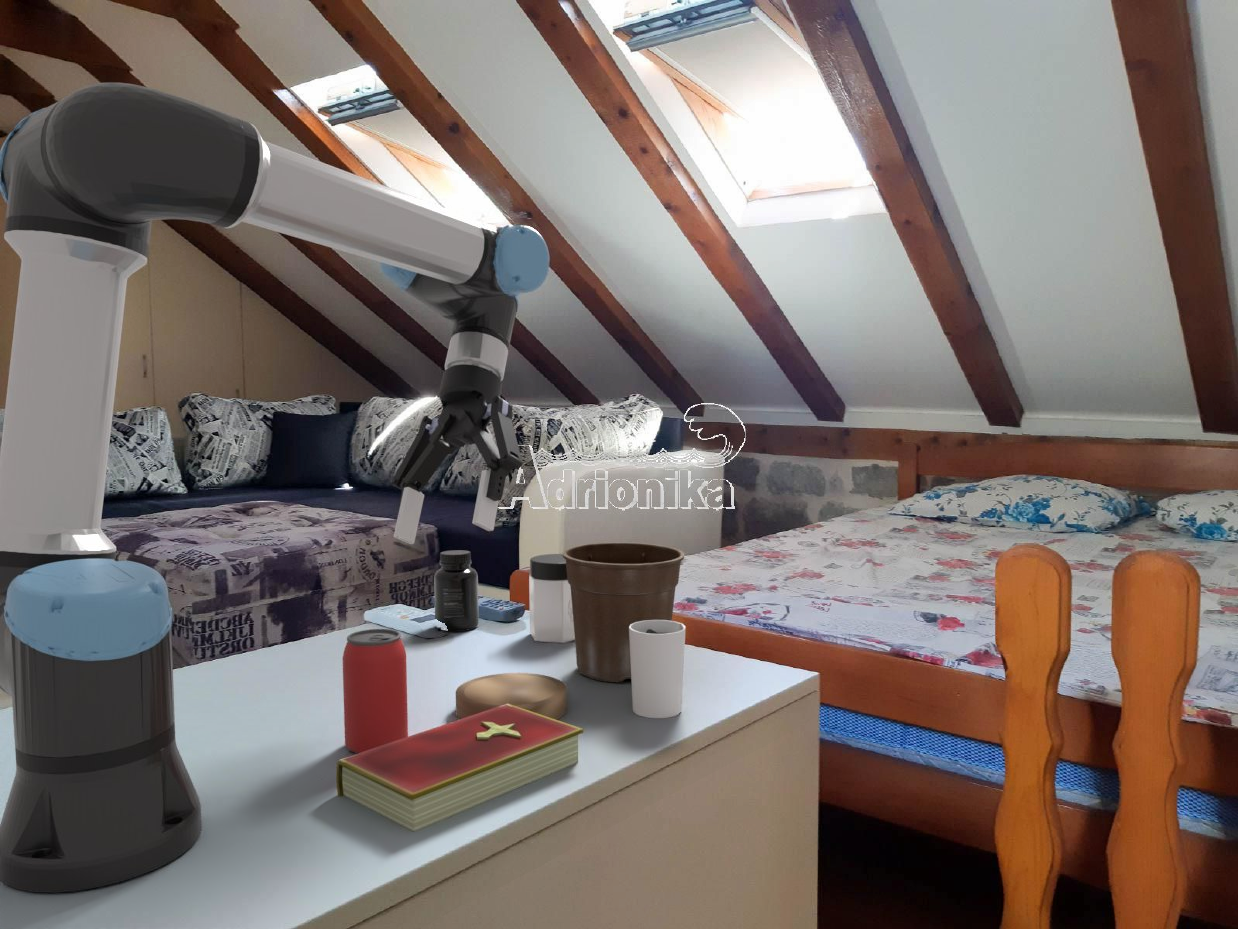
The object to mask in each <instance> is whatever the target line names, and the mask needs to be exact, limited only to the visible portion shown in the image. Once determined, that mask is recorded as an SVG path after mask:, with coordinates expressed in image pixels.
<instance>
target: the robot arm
mask: <svg viewBox="0 0 1238 929" xmlns="http://www.w3.org/2000/svg"><path fill="white" fill-rule="evenodd" d="M0 193H1V195H2V199H4V202H5V204H6V206H7V207H6V213H5V225H4V226H5V227H4V233H3V238H4V241H6V242H7V244H8V245H9V246H10V248H12V250H13V251H14V252H15V253H16V254H17V255H18V256H19V259H20V260H21V262H20V271H19V281H18V289H17V290H18V291H17V299H16V307H15V317H14V324H13V325H14V326H13V337H12V345H11V353H10V362H9V370H8V381H7V390H6V399H5V408H4V416H3V417H4V418H3V424H2V425H3V426H2V435H1V443H0V690H1V691H2V692H4V693H5V694H7V695H8V696H10V697H11V703H12V704H11V705H12V719H13V720H12V721H13V736H14V738H13V739H14V749H15V750H14V752H15V776H14V778H13V781H12V782H13V783H12V786H11V787H10V788H11V789H10V792H9V795H8V799H7V802H6V803H5V804H6V805H5V807H4V808H5V809H4V811H3V815H2V818H1V821H0V881H2V883H4V884H5V885H8V886H9V887H12V888H14V889H18V890H22V891H27V892H36V893H64V892H75V891H76V892H77V891H81V890H82V891H83V890H90V889H94V888H100V887H105V886H109V885H113V884H117V883H121V882H123V881H128V880H130V879H133V878H136V877H139V876H142V875H144V874H147V873H150V872H151V871H154V870H156V869H158V868H161V867H162V866H165V865H166V864H168V863H170V862H172V861H174V860H175V859H177V858H178V857H180V856H182V855H183V854H184V853H185V852H186V851H188V850H189V849H190V848H191V847H192V846H193V845H194V844H195V843H196V842H197V840H198V839H199V838H200V836H201V833H202V829H203V826H202V825H203V824H202V821H203V820H202V806H201V805H202V804H201V801H200V797H199V795H198V793H197V790H196V788H195V785H194V783H193V781H192V778H191V777H190V776H191V775H190V774H189V772H188V769H187V767H186V765H185V763H184V760H183V758H182V755H181V752H180V750H179V748H178V746H177V742H176V741H177V740H176V739H177V738H176V723H175V719H176V718H175V717H176V715H175V691H174V690H175V688H174V687H175V686H174V664H173V660H174V659H173V637H172V636H173V634H172V625H173V621H174V620H173V617H174V616H173V613H174V612H173V608H172V606H171V602H170V599H169V597H170V596H169V590H168V586H167V585H168V584H167V582H166V580H165V578H164V577H163V575H162V574H161V573H159V571H157V570H155V569H154V568H152V567H150V566H148V565H146V564H143V563H140V562H136V561H131V560H120V561H116V555H117V546H116V545H115V544H114V543H113V541H111V539H109V537H108V536H107V535H106V534H105V533H104V531H103V530H102V528H101V526H102V514H103V506H104V498H105V489H106V479H107V469H108V459H109V451H110V443H111V442H110V440H111V434H112V433H111V432H112V425H113V424H112V423H113V413H114V406H115V405H114V404H115V396H116V388H117V387H116V386H117V376H118V368H119V361H120V360H119V358H120V348H121V338H122V331H123V322H124V315H125V314H124V312H125V303H126V302H125V301H126V294H127V284H128V279H129V278H130V276H132V275H133V274H135V272H138V270H140V269H142V268H143V267H145V266H146V265H147V264H148V259H149V249H150V241H151V240H150V239H151V232H152V223H153V221H160V220H161V221H162V220H184V221H185V220H187V221H192V222H200V223H204V224H210V225H212V226H215V227H219V228H223V229H232V228H234V227H236V226H237V225H239V224H241V223H246V224H250V225H252V226H256V227H260V228H264V229H267V230H270V231H274V232H276V233H280V234H284V235H287V236H290V237H294V238H296V239H301V240H303V241H306V242H307V241H308V242H311V243H314V244H318V245H321V246H325V247H327V248H331V249H335V250H337V251H342V252H345V253H347V254H348V253H349V254H351V255H355V256H359V257H362V258H365V259H369V260H373V261H376V262H379V267H380V271H381V273H382V274H383V276H384V277H385V278H386V279H388V280H389V281H390V282H392V283H393V284H394V285H396V287H398V288H399V290H400V291H402V292H405V293H407V294H409V295H410V296H412V297H413V298H415V299H416V300H418V301H419V302H420V303H423V305H425V306H427V307H428V308H430V309H431V310H432V311H434V312H436V313H437V314H439V315H440V316H442V317H443V318H444V319H446V320H448V321H449V322H451V323H452V330H451V337H450V341H449V344H448V350H447V354H446V358H445V363H444V371H443V373H442V378H441V382H440V388H439V391H438V392H439V393H438V397H439V401H440V402H441V406H442V410H441V412H440V414H439V416H438V417H434V418H432V417H430V416H429V415H424V416H423V417H422V419H421V422H420V426H419V428H418V432H417V434H416V436H415V438H414V440H413V441H412V443H411V445H410V447H409V448H408V451H407V452H406V454H405V456H404V458H403V459H402V462H401V463H400V465H399V467H398V469H397V471H396V472H395V475H394V476H393V478H392V480H391V485H392V486H393V487H395V488H397V489H399V490H401V495H400V499H399V502H398V507H397V518H396V519H397V520H396V523H395V529H394V531H393V538H395V539H396V540H399V541H402V542H403V543H407V544H409V545H415V541H416V537H417V532H418V528H419V522H420V518H421V513H422V509H423V505H424V504H423V503H424V498H425V494H423V492H422V490H423V489H424V488H425V486H426V485H427V484H428V482H429V481H430V480H431V478H432V477H433V476H434V474H435V473H436V472H437V471H438V469H439V468H440V467H441V465H442V464H443V462H444V461H445V459H446V458H447V456H449V455H452V454H454V452H455V451H456V450H457V449H459V448H462V447H464V446H466V445H469V446H470V445H474V444H475V446H476V448H477V449H478V451H479V453H480V455H481V457H482V458H483V460H484V462H485V464H483V466H484V467H486V468H488V469H490V470H488V469H482V470H481V474H480V480H479V484H478V490H477V496H476V500H475V506H474V512H473V518H472V522H471V524H473V525H474V526H477V527H479V528H481V529H483V530H485V531H487V532H493V531H494V529H495V524H496V518H497V513H498V507H499V501H501V500H502V498H503V494H504V488H505V483H506V478H507V476H508V475H510V473H511V472H510V471H512V470H514V469H516V470H519V469H520V468H522V466H523V460H522V456H521V452H520V449H519V444H518V440H517V439H518V438H517V436H516V433H515V429H514V424H513V420H512V417H513V405H512V404H511V403H509V402H508V401H506V400H504V399H503V398H501V394H502V389H503V382H502V381H503V380H504V377H505V372H506V365H507V361H508V355H509V351H510V345H511V342H512V336H513V335H512V334H513V330H514V325H515V321H516V317H517V316H516V315H517V312H518V310H519V296H520V294H526V293H532V292H534V291H536V290H538V289H539V288H540V287H541V286H542V285H543V284H544V283H545V281H546V279H547V277H548V275H549V274H548V273H549V272H550V271H549V268H550V259H551V258H550V252H549V249H548V245H547V243H546V240H545V239H544V238H543V235H541V234H540V233H539V231H537V230H536V229H534V228H533V227H531V226H528V225H521V224H520V225H515V224H509V225H508V224H507V225H505V226H502V227H501V226H497V225H493V224H491V223H487V222H485V221H481V220H480V219H476V218H473V217H469V216H467V215H464V214H462V213H458V212H457V211H453V210H451V209H448V208H445V207H443V206H440V205H437V204H435V203H433V202H430V201H427V200H424V199H422V198H418V197H417V196H413V195H410V194H408V193H405V192H403V191H400V190H397V189H394V188H391V187H390V186H386V185H384V184H382V183H378V182H375V181H373V180H370V179H367V178H365V177H362V176H360V175H357V174H355V173H351V172H349V171H347V170H344V169H340V168H338V167H336V166H333V165H330V164H327V163H325V162H322V161H319V160H317V159H315V158H312V157H308V156H306V155H303V154H301V153H298V152H296V151H292V150H290V149H287V148H285V147H282V146H279V145H277V144H274V143H271V142H269V141H267V140H263V138H262V136H261V133H260V132H259V130H258V128H257V127H256V126H255V125H254V124H252V123H250V122H248V121H245V120H243V119H240V118H238V117H235V116H232V115H230V114H227V113H225V112H222V111H220V110H216V109H214V108H211V107H209V106H206V105H203V104H200V103H198V102H195V101H192V100H191V99H190V100H189V99H187V98H184V97H181V96H178V95H175V94H171V93H169V92H165V91H161V90H158V89H154V88H151V87H148V86H143V85H139V84H135V83H134V84H133V83H125V82H100V83H94V84H89V85H86V86H84V87H81V88H77V89H76V90H75V91H73V92H71V93H70V94H68V95H67V96H65V97H64V98H63V99H60V100H59V101H57V102H55V103H52V104H51V105H49V106H47V107H43V108H41V109H38V110H35V111H34V112H32V113H29V115H27V116H26V117H24V118H23V119H21V120H20V121H19V123H17V124H16V125H15V126H14V128H13V130H11V132H9V134H8V135H7V137H6V138H5V141H4V142H3V143H2V145H1V148H0ZM490 422H491V425H492V429H493V433H492V432H491V431H490V429H489V424H490ZM493 434H494V436H493ZM441 438H443V440H444V441H443V440H441ZM494 438H495V440H494Z"/></svg>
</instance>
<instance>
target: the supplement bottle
mask: <svg viewBox="0 0 1238 929" xmlns="http://www.w3.org/2000/svg"><path fill="white" fill-rule="evenodd" d="M439 565H440V566H441V568H439V569H438V570H436V572H435V574H434V575H433V576H434V577H433V584H434V585H433V586H434V589H433V590H434V619H437V620H438V621H440V622H442V623H445V625H446V626H447V629H448V631H447V632H450V633H451V632H454V633H455V632H465V631H470V630H473V629H475V628H477V627H478V626H479V623H480V622H479V619H480V617H479V614H480V613H479V579H478V578H479V576H478V572H477V571H476V569H475V568H473V567H471V565H472V555H471V551H469V550H461V549H459V550H455V549H454V550H453V549H452V550H445V551H442V552H440V553H439Z"/></svg>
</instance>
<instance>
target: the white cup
mask: <svg viewBox="0 0 1238 929" xmlns="http://www.w3.org/2000/svg"><path fill="white" fill-rule="evenodd" d="M629 639H630V660H631V679H630V680H631V681H630V682H631V696H632V697H631V698H632V700H631V702H632V711H633V712H634V714H636V715H637V716H640V717H642V718H643V717H644V718H648V719H669V718H673V717H677V716H679V713H680V712H682V709H683V708H682V706H683V703H682V702H683V688H684V687H683V686H684V668H685V667H684V666H685V665H684V664H685V645H686V644H685V643H686V625H684V623H682V622H678V621H673V620H672V621H668V620H644V621H639V622H635V623H633V624H630V626H629ZM680 714H681V713H680Z"/></svg>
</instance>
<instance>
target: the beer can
mask: <svg viewBox="0 0 1238 929" xmlns="http://www.w3.org/2000/svg"><path fill="white" fill-rule="evenodd" d="M401 635H402V634H401V632H399V631H398V630H395V629H390V628H388V629H387V628H372V629H364V630H359V631H355V632H353V633H350V634H349V635H347V637H346V641H347V642H346V644H345V647H344V649H343V655H342V681H343V682H342V684H343V685H342V686H343V687H342V688H343V717H344V718H343V720H344V721H343V723H344V726H343V727H344V744H345V747H346V748H348V750H349V751H350V752H352V753H355V754H358V753H361V752H364V751H367V750H370V749H373V748H376V747H379V746H382V745H385V744H388V743H391V742H394V741H397V740H400V739H403V738H406V737H409V724H408V723H409V720H408V718H409V716H408V682H407V681H408V680H407V679H408V678H407V675H408V674H407V670H408V669H407V652H406V649H405V645H404V642H403V640H402V638H401V637H402V636H401Z"/></svg>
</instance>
